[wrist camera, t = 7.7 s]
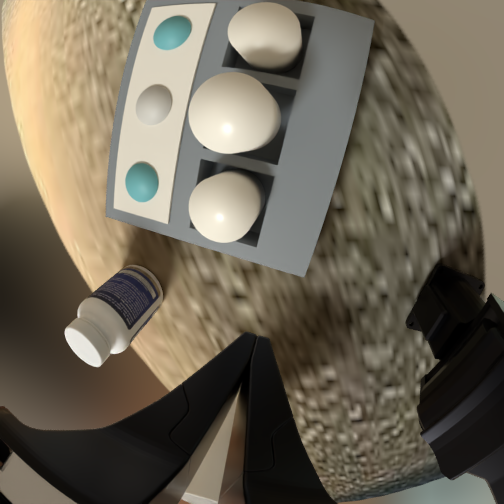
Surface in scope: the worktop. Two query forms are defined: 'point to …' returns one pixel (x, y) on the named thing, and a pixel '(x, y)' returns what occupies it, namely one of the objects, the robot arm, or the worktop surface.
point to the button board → (255, 161)
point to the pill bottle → (114, 314)
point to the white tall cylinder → (212, 466)
